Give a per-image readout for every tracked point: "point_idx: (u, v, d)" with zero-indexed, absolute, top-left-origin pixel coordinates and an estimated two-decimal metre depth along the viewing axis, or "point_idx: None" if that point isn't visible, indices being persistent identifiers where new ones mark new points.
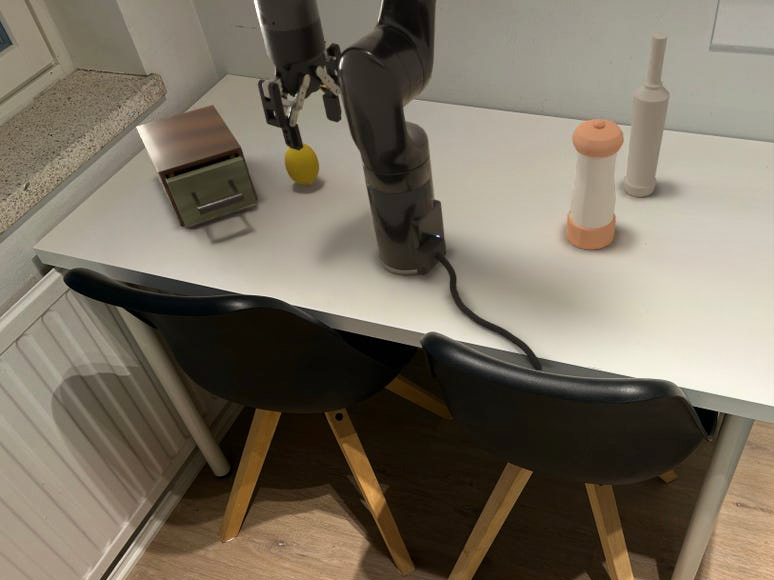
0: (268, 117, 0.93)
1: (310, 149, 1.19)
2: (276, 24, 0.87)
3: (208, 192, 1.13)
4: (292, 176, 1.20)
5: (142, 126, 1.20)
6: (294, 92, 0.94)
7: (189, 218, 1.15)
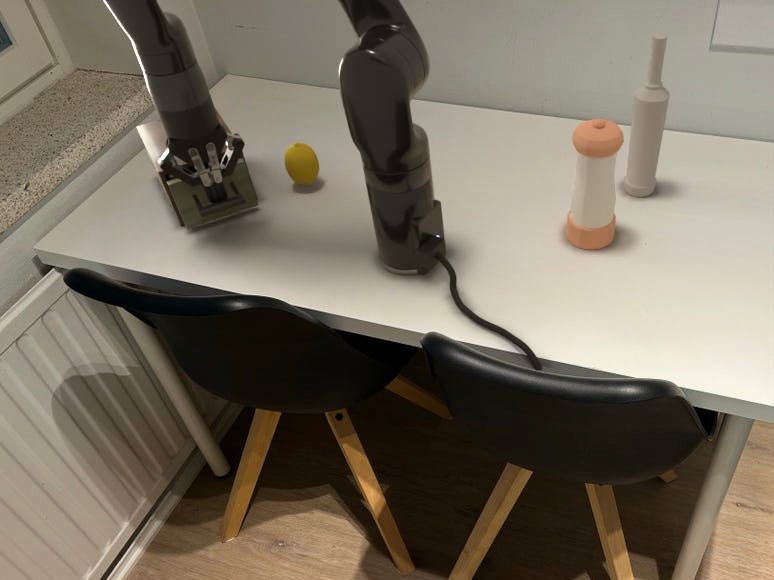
0: None
1: (310, 149, 1.19)
2: (156, 103, 0.96)
3: None
4: (292, 176, 1.20)
5: (142, 126, 1.20)
6: (182, 160, 1.03)
7: (190, 220, 1.14)
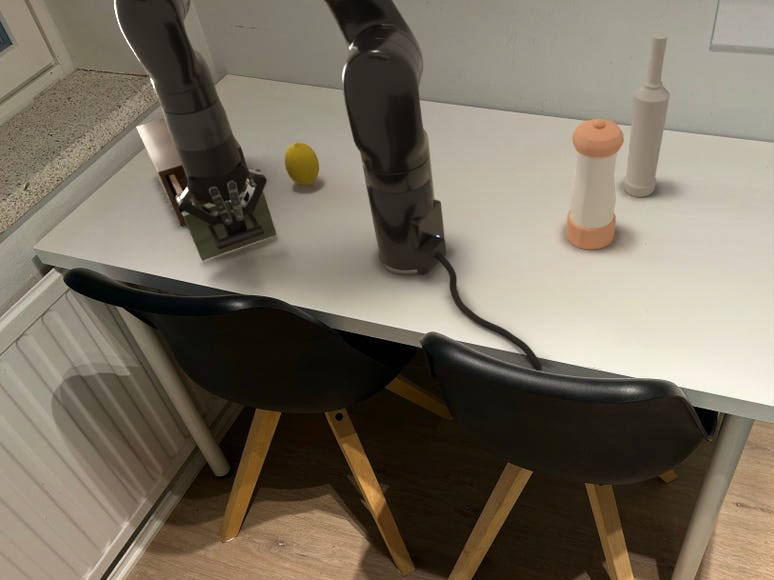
0: None
1: (310, 149, 1.19)
2: (175, 142, 0.92)
3: None
4: (292, 176, 1.20)
5: (142, 126, 1.20)
6: None
7: (205, 252, 1.08)
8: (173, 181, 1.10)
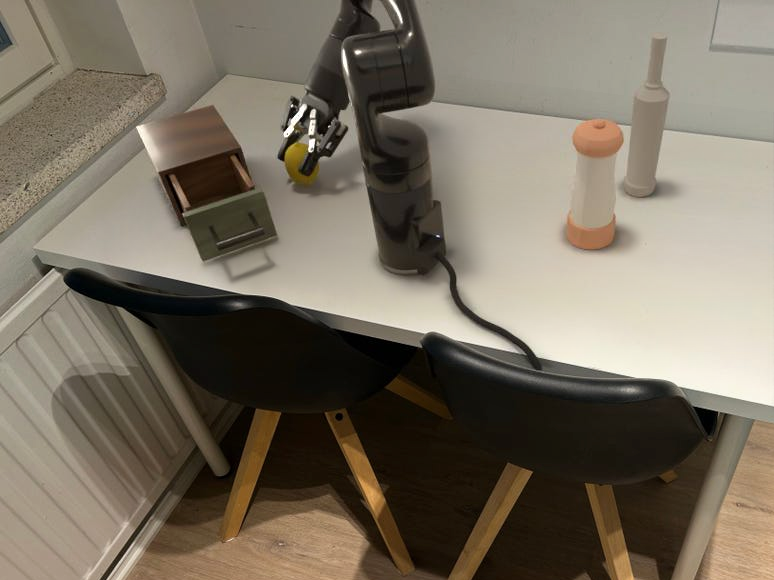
0: None
1: None
2: None
3: (226, 226, 1.07)
4: (292, 176, 1.20)
5: (142, 126, 1.20)
6: None
7: (206, 253, 1.08)
8: (173, 182, 1.10)
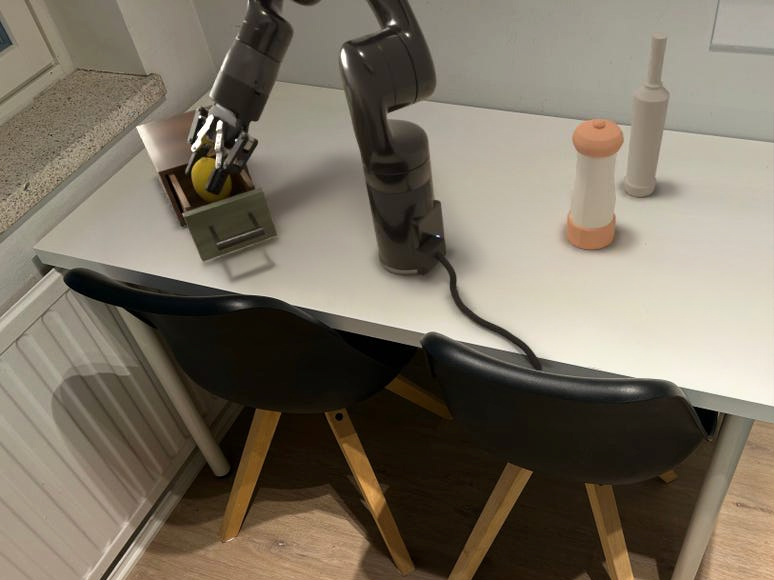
0: None
1: None
2: None
3: (226, 226, 1.07)
4: (200, 194, 1.09)
5: (142, 126, 1.20)
6: None
7: (206, 253, 1.08)
8: (173, 182, 1.10)
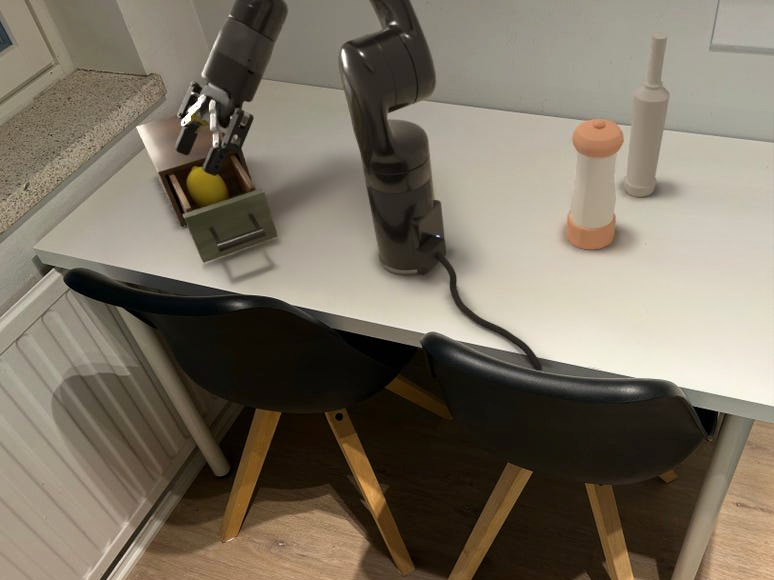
0: None
1: None
2: None
3: (227, 227, 1.07)
4: (197, 201, 1.11)
5: (142, 126, 1.20)
6: None
7: (206, 254, 1.08)
8: (174, 183, 1.09)
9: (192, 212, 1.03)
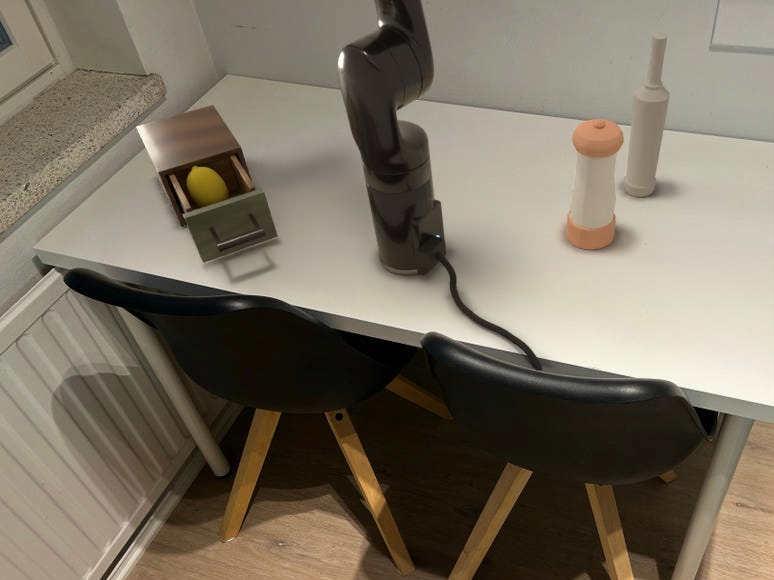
0: None
1: (209, 169, 1.12)
2: None
3: (227, 227, 1.07)
4: (197, 201, 1.11)
5: (142, 126, 1.20)
6: None
7: (206, 254, 1.08)
8: (174, 183, 1.09)
9: (192, 212, 1.03)
